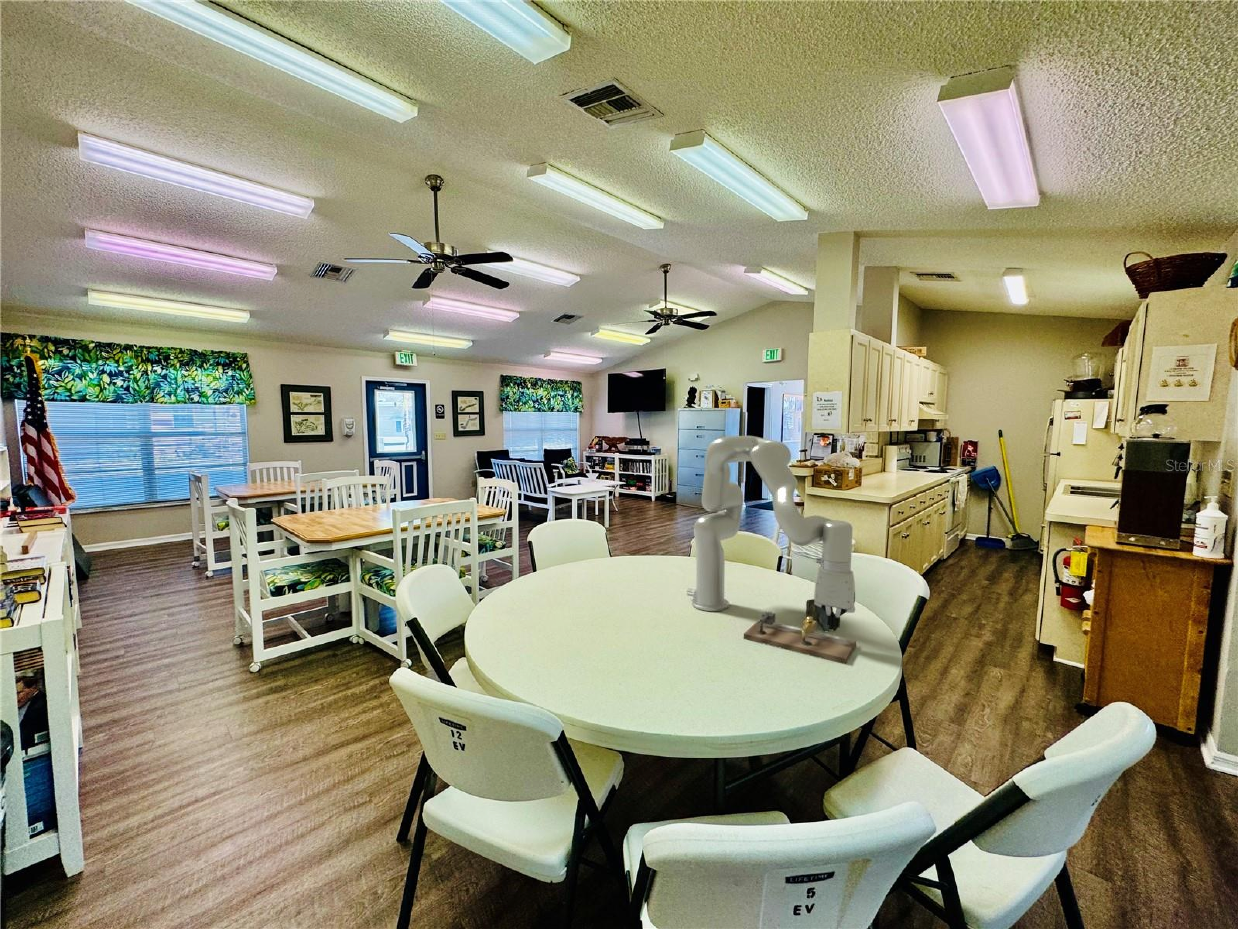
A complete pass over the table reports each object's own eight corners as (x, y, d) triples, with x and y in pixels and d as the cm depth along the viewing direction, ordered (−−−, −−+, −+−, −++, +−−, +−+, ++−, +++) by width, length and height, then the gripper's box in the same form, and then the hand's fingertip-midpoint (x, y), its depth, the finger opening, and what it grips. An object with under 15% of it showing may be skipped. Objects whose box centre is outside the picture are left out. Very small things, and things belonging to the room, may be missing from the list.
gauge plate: (743, 638, 151) (743, 621, 150) (759, 624, 161) (759, 607, 161) (845, 664, 134) (846, 644, 134) (856, 646, 145) (856, 628, 145)
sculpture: (837, 632, 154) (838, 610, 154) (815, 632, 155) (816, 609, 155) (825, 616, 167) (825, 595, 167) (804, 615, 168) (804, 595, 168)
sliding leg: (797, 639, 145) (797, 623, 144) (805, 630, 151) (806, 614, 151) (808, 642, 143) (808, 626, 142) (816, 632, 149) (816, 617, 149)
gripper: (804, 564, 144) (802, 627, 146) (862, 573, 136) (859, 640, 138) (812, 557, 151) (809, 618, 152) (868, 566, 142) (864, 630, 144)
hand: (833, 628), depth 145 cm, fingers closed
